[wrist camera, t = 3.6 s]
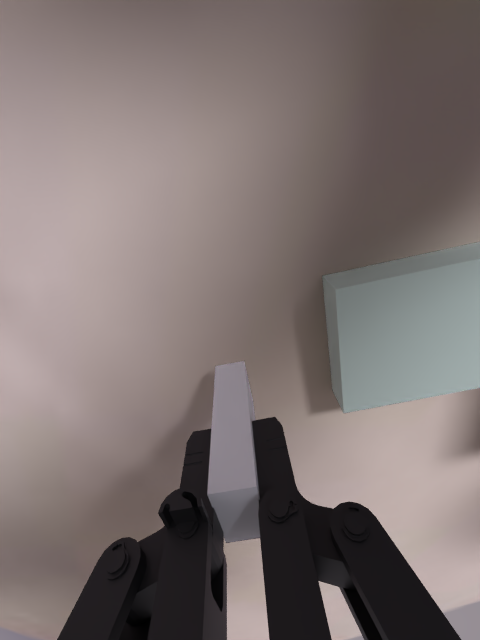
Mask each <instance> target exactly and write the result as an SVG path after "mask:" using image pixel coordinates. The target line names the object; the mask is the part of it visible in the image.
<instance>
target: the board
mask: <svg viewBox="0 0 480 640" xmlns="http://www.w3.org/2000/svg"><path fill="white" fill-rule="evenodd" d="M322 279H323V291H324V302H325V313H326V325H327V336H328V348H329V359H330V370H331V382H332V391H333V393H334V395H335V397H336V399H337V401H338V403H339V405H340V407H341V409H342V411H343V413H348V412H353V411H359V410H364V409H369V408H375V407H380V406H385V405H391V404H396V403H401V402H407V401H412V400H418V399H423V398H428V397H434V396H439V395H444V394H450V393H455V392H460V391H466V390H471V389H476V388H480V242H475V243H471V244H466V245H462V246H457V247H452V248H448V249H443V250H439V251H434V252H429V253H425V254H420V255H416V256H411V257H407V258H402V259H397V260H393V261H388V262H384V263H379V264H374V265H370V266H365V267H361V268H356V269H351V270H347V271H342V272H338V273H333V274H328V275H324V276H322Z"/></svg>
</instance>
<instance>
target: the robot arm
mask: <svg viewBox="0 0 480 640" xmlns="http://www.w3.org/2000/svg"><path fill="white" fill-rule="evenodd" d="M158 514H159V516H160V517H161V519H162V521H163V523H164V525H165V526H164V527H163V528H162V529H160V530H159V531H157V532H156V533H154V534H152V535H150V536H148V537H146V538H145V539H143V540H141V541H139V542H137V541H136V540H135V539H132V538H130V537H128V538H121V539H119V540H117V541H116V542H114V543H112V544H111V545H110V546H109V547H108V548H107V549H106V550H105V551H104V553H103V554H102V556H101V557H100V559H99V560H98V562H97V564H96V566H95V568H94V570H93V572H92V574H91V575H90V577H89V579H88V581H87V583H86V585H85V587H84V589H83V591H82V593H81V595H80V597H79V599H78V601H77V602H76V604H75V606H74V608H73V610H72V612H71V614H70V616H69V618H68V620H67V622H66V624H65V626H64V628H63V629H62V631H61V633H60V635H59V637H58V639H57V640H227V564H226V558H225V555H224V552H223V539H224V538H225V541H226V543H229V542H235V541H242V540H248V539H255V538H260V540H261V551H262V562H263V573H264V584H265V595H266V606H267V617H268V627H269V638H270V640H332V639H331V635H330V631H329V626H328V622H327V617H326V613H325V609H324V604H323V600H322V595H321V591H320V587H319V582H318V581H321V582H324V583H328V584H331V585H335V586H338V587H340V590H341V592H342V594H343V596H344V598H345V600H346V602H347V604H348V606H349V608H350V611H351V613H352V615H353V617H354V619H355V621H356V623H357V625H358V627H359V629H360V631H361V634H362V636H363V638H364V640H461V639H460V637H459V636H458V634H457V633H456V632H455V630H454V629H453V627H452V626H451V624H450V623H449V621H448V620H447V618H446V617H445V616H444V614H443V613H442V611H441V610H440V608H439V607H438V606H437V604H436V603H435V601H434V600H433V598H432V597H431V596H430V594H429V593H428V591H427V590H426V588H425V587H424V586H423V584H422V583H421V581H420V580H419V578H418V577H417V575H416V574H415V573H414V571H413V570H412V568H411V567H410V565H409V564H408V563H407V561H406V560H405V558H404V557H403V555H402V554H401V553H400V551H399V550H398V548H397V547H396V545H395V544H394V542H393V541H392V540H391V538H390V537H389V535H388V534H387V532H386V531H385V530H384V528H383V527H382V525H381V524H380V522H379V521H378V520H377V518H376V517H375V516H374V515H373V514H372V512H371V511H370V510H369V509H368V508H366V507H364V506H362V505H361V504H359V503H354V502H345V503H341V504H339V505H338V506H337V507H335V508H334V509H332V508H327V507H322V506H318V505H315V504H312V503H310V502H309V501H307V500H306V499H305V498H304V497H303V496H302V495H301V494H300V493H299V491H298V490H297V487H296V484H295V480H294V476H293V471H292V467H291V462H290V458H289V454H288V449H287V445H286V440H285V436H284V432H283V427H282V425H281V424H280V422H279V421H278V420H277V419H276V417H272V418H266V419H260V420H255V412H254V404H253V398H252V393H251V389H250V384H249V380H248V375H247V371H246V366H245V362H244V361H241V362H235V363H230V364H224V365H219V366H215V381H214V397H213V413H212V428H211V429H207V430H201V431H195V432H193V433H192V435H191V437H190V438H189V440H188V442H187V445H186V452H185V458H184V467H183V471H182V477H181V484H180V489H178V490H175V491H174V492H172V493H171V494H170V495H168V496H167V497H166V499H165V500H164V501H163V503H162V504H161V507H160V509H159V512H158Z"/></svg>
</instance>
